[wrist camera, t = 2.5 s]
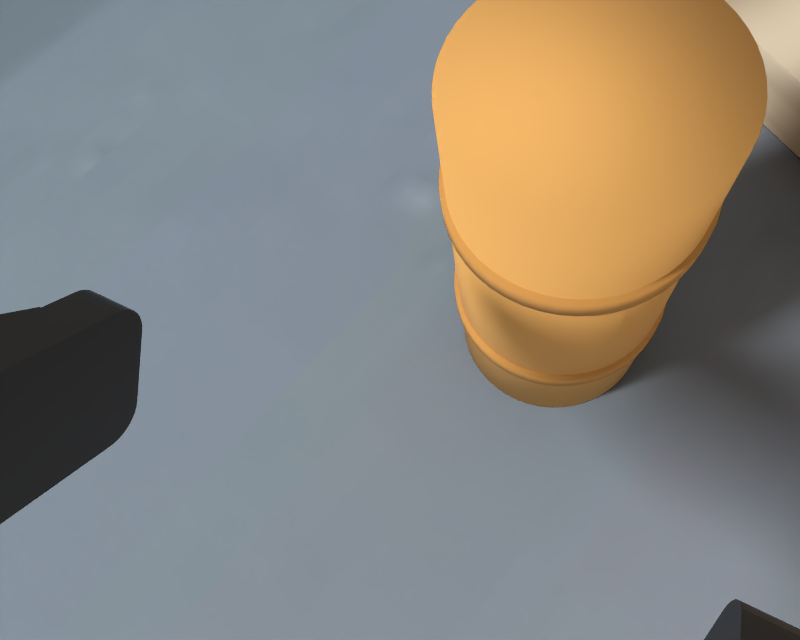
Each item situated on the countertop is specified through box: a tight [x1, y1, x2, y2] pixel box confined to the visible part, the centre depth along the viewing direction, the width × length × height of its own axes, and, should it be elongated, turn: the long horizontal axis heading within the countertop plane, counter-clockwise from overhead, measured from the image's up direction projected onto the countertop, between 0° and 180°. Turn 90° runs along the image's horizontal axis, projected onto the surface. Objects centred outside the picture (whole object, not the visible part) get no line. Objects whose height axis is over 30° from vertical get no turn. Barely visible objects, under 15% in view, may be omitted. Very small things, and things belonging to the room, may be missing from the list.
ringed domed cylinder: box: [432, 0, 768, 407], centre depth 17 cm, size 5×5×11 cm
